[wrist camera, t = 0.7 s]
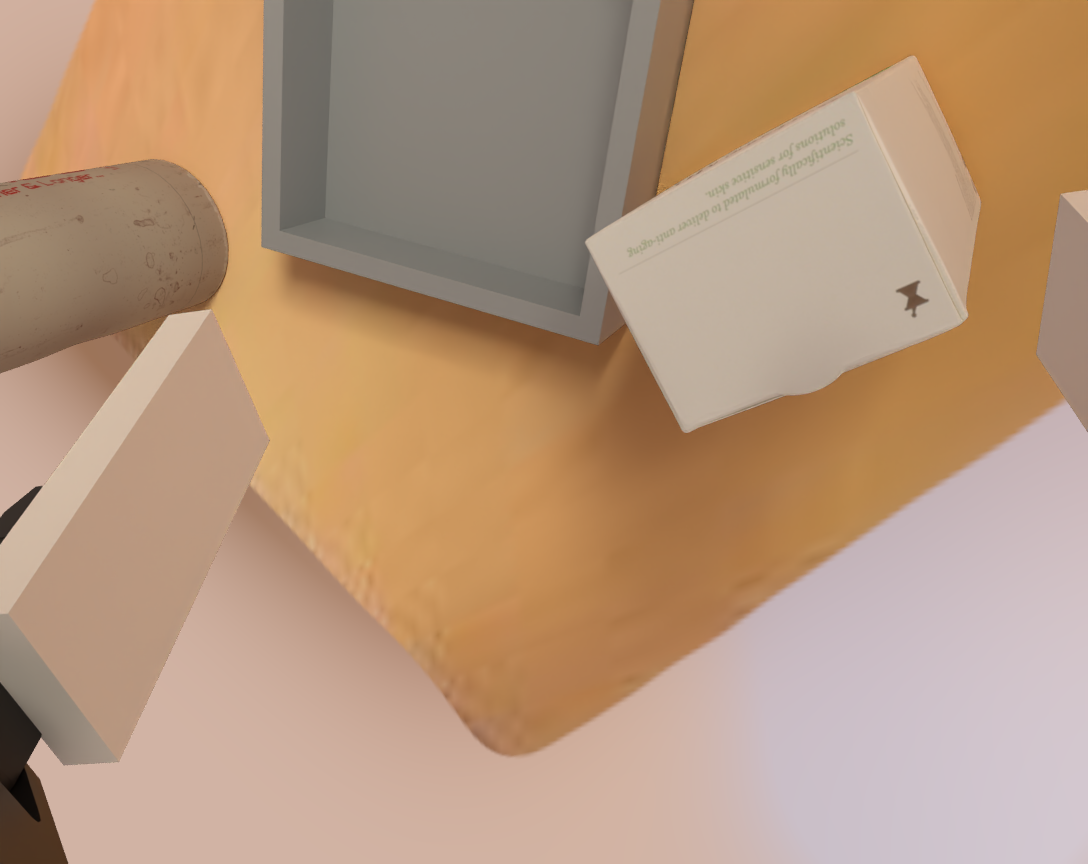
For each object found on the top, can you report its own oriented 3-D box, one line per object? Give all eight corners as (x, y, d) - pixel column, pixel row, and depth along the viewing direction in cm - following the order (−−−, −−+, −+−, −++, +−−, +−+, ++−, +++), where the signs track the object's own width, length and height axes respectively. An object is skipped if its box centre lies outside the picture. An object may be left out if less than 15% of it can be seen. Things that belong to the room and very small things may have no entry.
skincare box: (917, 51, 34) (869, 66, 21) (990, 215, 35) (988, 327, 22) (714, 163, 39) (571, 233, 26) (784, 307, 40) (681, 445, 27)
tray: (716, -113, 35) (683, -129, 32) (631, 318, 43) (598, 345, 39) (331, -162, 40) (265, -181, 37) (316, 230, 48) (261, 246, 44)
